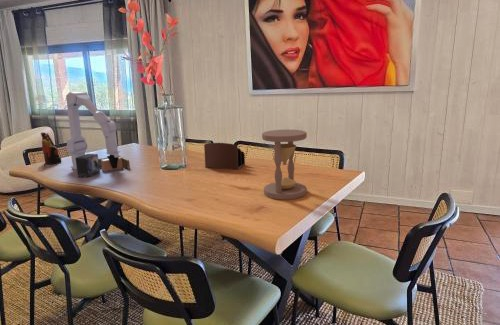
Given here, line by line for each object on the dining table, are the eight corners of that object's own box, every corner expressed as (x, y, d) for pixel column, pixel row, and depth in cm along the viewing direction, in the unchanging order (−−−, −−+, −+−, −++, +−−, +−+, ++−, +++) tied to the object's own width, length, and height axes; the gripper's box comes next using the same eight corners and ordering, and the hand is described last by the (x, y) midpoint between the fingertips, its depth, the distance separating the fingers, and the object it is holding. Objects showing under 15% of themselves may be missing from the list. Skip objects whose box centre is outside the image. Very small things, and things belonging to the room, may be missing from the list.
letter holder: (238, 169, 181) (236, 143, 177) (205, 167, 188) (203, 142, 184) (245, 165, 190) (244, 140, 186) (213, 163, 197) (211, 139, 193)
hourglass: (290, 203, 129) (289, 137, 123) (255, 194, 140) (252, 134, 134) (314, 190, 142) (314, 131, 136) (280, 183, 153) (279, 128, 147)
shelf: (95, 168, 197) (94, 159, 196) (120, 163, 205) (119, 155, 204) (103, 173, 184) (102, 164, 183) (130, 168, 192) (129, 160, 191)
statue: (62, 162, 215) (57, 131, 210) (49, 165, 209) (43, 133, 205) (55, 160, 223) (50, 130, 218) (42, 162, 217) (36, 131, 212)
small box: (88, 177, 177) (85, 158, 175) (77, 177, 179) (74, 157, 176) (101, 172, 187) (98, 153, 185) (90, 172, 189) (87, 153, 186)
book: (102, 170, 192) (100, 159, 191) (120, 166, 198) (118, 156, 197) (104, 171, 188) (103, 161, 187) (123, 168, 194) (121, 157, 193)
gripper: (123, 144, 183) (126, 169, 186) (114, 141, 194) (118, 164, 197) (109, 146, 179) (113, 171, 182) (101, 143, 190) (105, 166, 193)
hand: (114, 168), depth 189 cm, fingers closed
